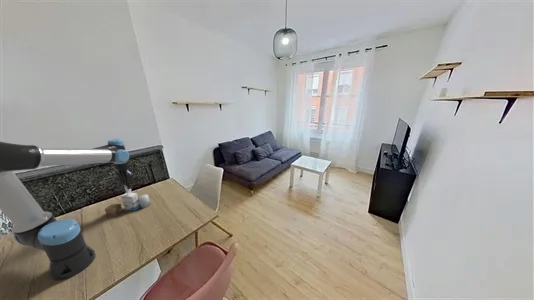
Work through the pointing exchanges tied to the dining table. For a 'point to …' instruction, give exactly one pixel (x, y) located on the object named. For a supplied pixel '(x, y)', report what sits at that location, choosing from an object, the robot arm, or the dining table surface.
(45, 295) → the dining table surface
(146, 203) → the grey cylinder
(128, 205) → the ink box
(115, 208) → the walnut block
